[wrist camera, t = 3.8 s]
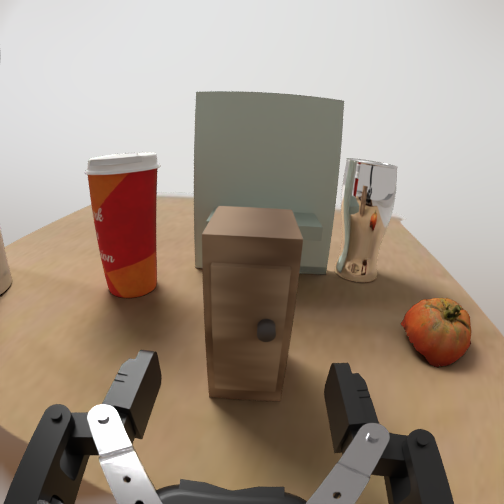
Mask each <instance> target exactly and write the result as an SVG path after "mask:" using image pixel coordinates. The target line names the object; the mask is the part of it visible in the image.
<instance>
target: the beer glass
mask: <svg viewBox="0 0 504 504" xmlns="http://www.w3.org/2000/svg"><path fill="white" fill-rule="evenodd" d="M396 181H397V166H394V165H390V164H386V163H381V162H374V161H369V160H361V159H353V158H347V162H346V168H345V173H344V179H343V185H342V194H341V225H342V241H341V248H340V252H339V255H338V258H337V261H336V264H335V267H334V270H335V272H336V273H337V274H338V275H339V276H340V277H342V278H344V279H347V280H350V281H354V282H371V281H373V280H375V279H376V277H377V261H378V254H379V250H380V246H381V243H382V241H383V238H384V235H385V232H386V230H387V227H388V224H389V221H390V218H391V215H392V211H393V207H394V201H395V194H396Z"/></svg>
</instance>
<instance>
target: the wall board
mask: <svg viewBox="0 0 504 504" xmlns="http://www.w3.org/2000/svg"><path fill="white" fill-rule="evenodd" d="M343 110H344V101H342V100H335V99H328V98H319V97H312V96H301V95H292V94H279V93H262V92H196V110H195V111H196V112H195V142H194V143H195V144H194V240H195V268H203V267H202V233H203V231H204V230H205V228H206V226H207V224H208V223H209V221H210V219H211V218H212V216H213V214H214V212H215V211H216V209H217V207H218V206H233V207H254V208H273V209H289V210H292V211H293V214H294V217H295V219H296V222H297V224H298V227H299V230H300V232H301V235H302V238H303V246H302V255H301V263H300V271H299V273H304V274H326V270H327V263H328V257H329V250H330V243H331V236H332V228H333V220H334V212H335V204H336V195H337V186H338V175H339V165H340V154H341V141H342V126H343Z"/></svg>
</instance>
